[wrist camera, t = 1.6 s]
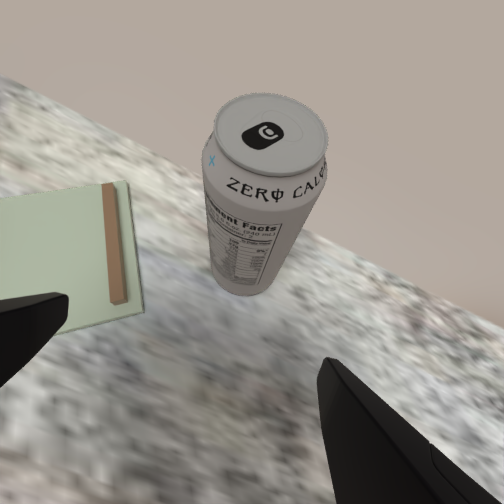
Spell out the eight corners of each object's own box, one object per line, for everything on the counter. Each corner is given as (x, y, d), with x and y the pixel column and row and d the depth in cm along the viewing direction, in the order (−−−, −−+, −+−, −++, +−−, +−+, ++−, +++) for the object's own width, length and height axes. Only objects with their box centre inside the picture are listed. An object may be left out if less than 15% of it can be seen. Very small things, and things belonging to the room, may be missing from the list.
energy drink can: (288, 272, 24) (370, 143, 11) (239, 312, 22) (266, 212, 9) (247, 229, 26) (275, 70, 12) (198, 262, 24) (168, 113, 10)
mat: (144, 312, 21) (138, 307, 20) (-62, 365, 18) (-87, 364, 17) (127, 184, 27) (122, 173, 25) (-32, 207, 24) (-48, 197, 22)
